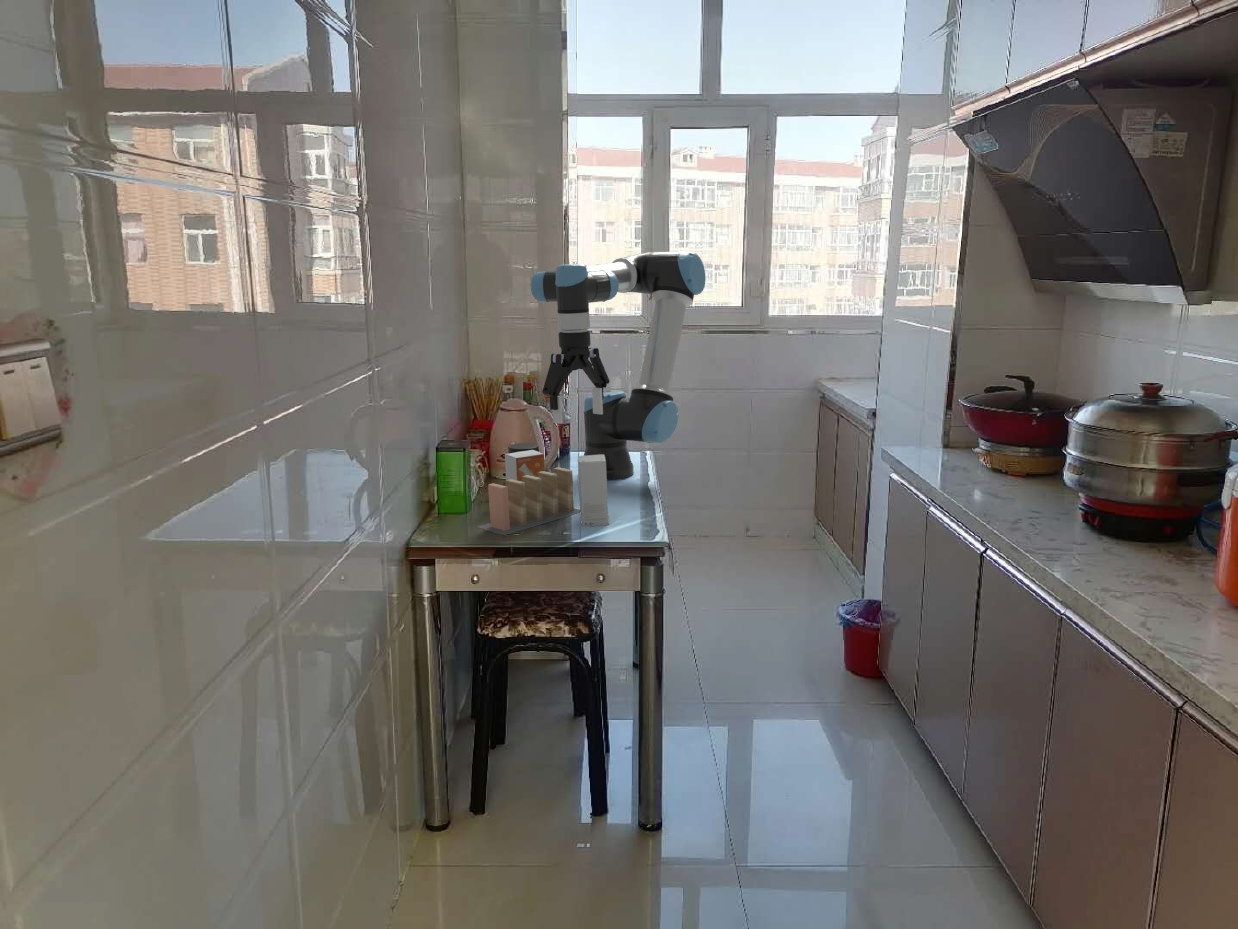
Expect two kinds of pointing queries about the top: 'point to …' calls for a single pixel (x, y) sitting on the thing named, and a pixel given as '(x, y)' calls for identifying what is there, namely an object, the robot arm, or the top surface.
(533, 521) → the mat
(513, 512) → the domino
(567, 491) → the domino
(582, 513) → the skincare box
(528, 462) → the small box
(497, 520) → the domino
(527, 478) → the domino
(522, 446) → the jar
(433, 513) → the top surface
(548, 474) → the domino
